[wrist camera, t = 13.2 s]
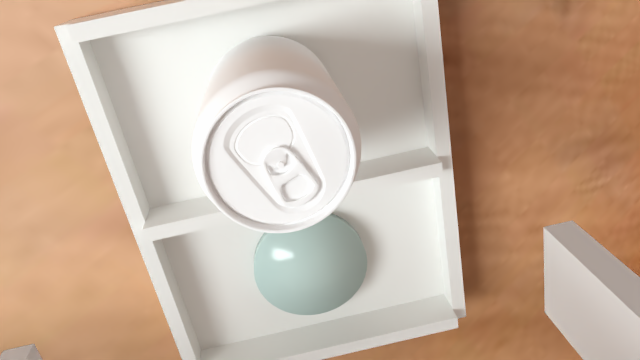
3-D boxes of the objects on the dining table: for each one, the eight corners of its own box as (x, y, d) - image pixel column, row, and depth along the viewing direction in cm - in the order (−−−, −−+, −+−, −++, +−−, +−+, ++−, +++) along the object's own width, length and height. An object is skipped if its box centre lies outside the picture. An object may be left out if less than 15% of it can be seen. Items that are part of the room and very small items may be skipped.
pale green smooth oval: (370, 293, 42) (373, 302, 41) (265, 315, 42) (266, 324, 41) (356, 200, 39) (359, 207, 38) (242, 222, 39) (242, 230, 37)
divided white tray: (452, 292, 45) (471, 324, 41) (194, 352, 44) (188, 390, 40) (417, -53, 34) (438, -53, 30) (71, 19, 33) (47, 29, 29)
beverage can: (290, 9, 33) (311, 39, 22) (352, 115, 36) (397, 188, 25) (182, 77, 34) (149, 138, 23) (252, 175, 37) (253, 270, 26)
